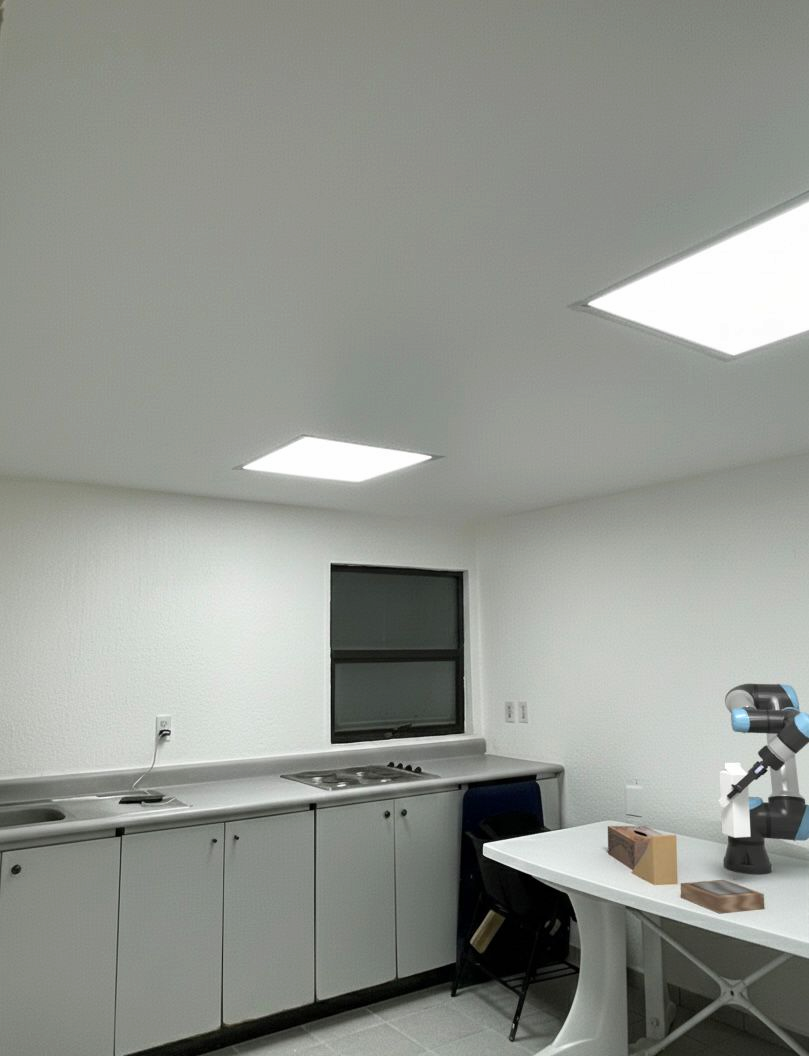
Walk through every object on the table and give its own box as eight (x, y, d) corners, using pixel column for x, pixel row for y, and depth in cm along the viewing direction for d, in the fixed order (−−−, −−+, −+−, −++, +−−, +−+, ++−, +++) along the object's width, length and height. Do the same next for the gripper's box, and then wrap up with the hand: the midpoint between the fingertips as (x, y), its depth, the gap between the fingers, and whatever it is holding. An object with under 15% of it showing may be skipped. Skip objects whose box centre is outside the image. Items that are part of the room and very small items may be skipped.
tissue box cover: (677, 872, 269) (676, 841, 270) (635, 873, 267) (634, 841, 269) (646, 854, 294) (645, 826, 296) (608, 854, 293) (607, 826, 294)
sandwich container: (653, 872, 268) (652, 825, 271) (678, 884, 253) (677, 834, 256) (630, 873, 266) (628, 825, 269) (653, 885, 252) (652, 835, 254)
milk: (750, 837, 250) (747, 763, 253) (734, 837, 248) (731, 764, 251) (737, 832, 255) (735, 761, 259) (721, 833, 254) (718, 761, 257)
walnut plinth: (724, 893, 244) (723, 878, 244) (764, 908, 229) (763, 892, 230) (681, 897, 238) (680, 882, 239) (719, 913, 223) (718, 897, 224)
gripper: (782, 766, 239) (727, 816, 244) (789, 759, 257) (737, 806, 262) (762, 747, 242) (708, 797, 248) (770, 741, 260) (719, 788, 266)
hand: (723, 801), depth 255 cm, fingers closed on milk, 8 cm apart
